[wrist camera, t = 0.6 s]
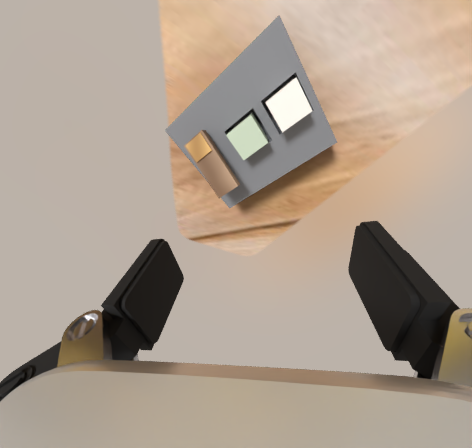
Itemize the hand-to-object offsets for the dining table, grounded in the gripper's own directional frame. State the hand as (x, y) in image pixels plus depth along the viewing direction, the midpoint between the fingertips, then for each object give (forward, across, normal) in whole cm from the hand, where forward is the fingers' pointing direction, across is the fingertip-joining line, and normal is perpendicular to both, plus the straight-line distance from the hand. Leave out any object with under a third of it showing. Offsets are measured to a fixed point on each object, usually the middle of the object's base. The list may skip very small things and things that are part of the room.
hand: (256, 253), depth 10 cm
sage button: (+21, +1, -3) cm, 21 cm away
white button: (+20, -4, -5) cm, 21 cm away
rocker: (+17, +6, 0) cm, 18 cm away
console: (+23, +1, -3) cm, 23 cm away
